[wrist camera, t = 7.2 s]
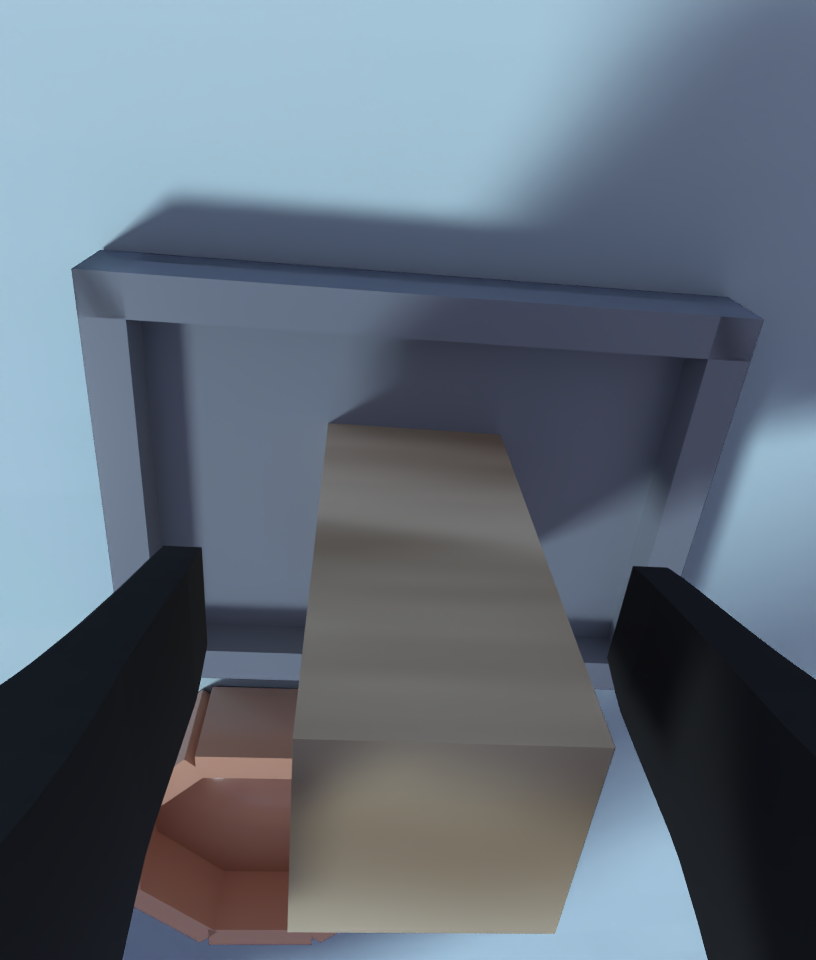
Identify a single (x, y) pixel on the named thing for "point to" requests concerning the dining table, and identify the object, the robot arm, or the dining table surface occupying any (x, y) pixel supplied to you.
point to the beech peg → (436, 700)
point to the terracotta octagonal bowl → (227, 824)
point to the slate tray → (394, 421)
